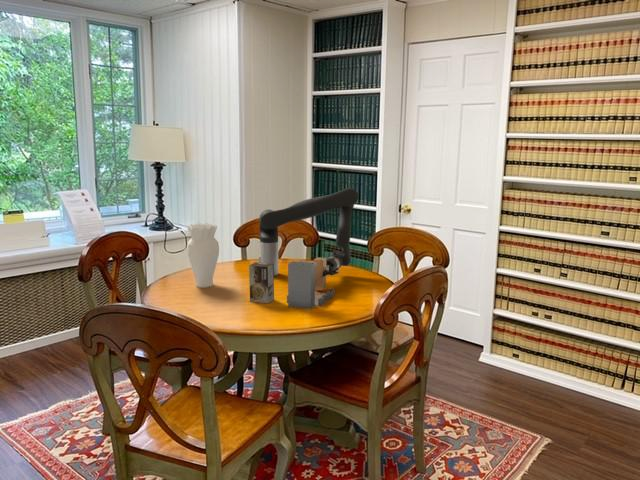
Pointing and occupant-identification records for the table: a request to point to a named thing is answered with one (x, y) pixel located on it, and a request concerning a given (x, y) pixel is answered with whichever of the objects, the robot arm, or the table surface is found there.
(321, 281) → the copper bar
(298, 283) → the grey metal bracket
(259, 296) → the coffee box
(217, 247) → the vase
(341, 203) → the robot arm
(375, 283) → the table surface
